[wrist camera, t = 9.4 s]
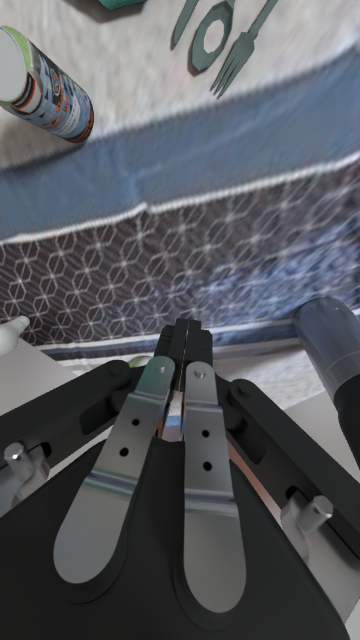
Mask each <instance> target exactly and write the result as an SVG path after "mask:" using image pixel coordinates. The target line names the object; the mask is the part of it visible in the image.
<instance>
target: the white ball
mask: <svg viewBox="0 0 360 640" xmlns="http://www.w3.org/2000/svg"><path fill="white" fill-rule="evenodd" d="M151 358H152V357H143V358H141V359H140V360H139V361H138V362H137V364H136V366H135V367H139V366H143V365H146V364H147V363H148V361H149V360H150V359H151Z"/></svg>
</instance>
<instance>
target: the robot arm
mask: <svg viewBox="0 0 360 640" xmlns="http://www.w3.org/2000/svg"><path fill="white" fill-rule="evenodd" d="M188 320H189V319H182V318H177V319H176V323H175V326H173V325H166V326H165V327H164V328H163V329H162V331H161V334H160V338H159V341H158V344H157V347H156V350H155V353H154V356H153V358H151V359H150V360H149V361H148V363H147V364H146V365H143V366H139V367H130V366H129V364H128V363H127V362H125V361H123V360H112V361H109V362H107V363H105V364H103V365H101V366H99V367H97V368H95V369H93V370H91V371H89V372H87V373H85V374H83V375H81V376H79V377H77V378H75V379H73V380H71V381H69V382H67V383H65V384H63V385H61V386H59V387H57V388H55V389H53V390H51V391H49V392H47V393H45V394H43V395H41V396H39V397H37V398H35V399H33V400H31V401H29V402H27V403H25V404H23V405H21V406H19V407H17V408H15V409H13V410H11V411H9V412H7V413H5V414H3V415H1V416H0V640H350V637H349V635H348V632H347V630H346V628H345V625H344V624H345V622H346V621H347V619H348V617H349V616H350V614H351V612H352V611H353V609H354V607H355V605H356V604H357V602H358V600H359V599H360V484H359V482H358V481H356V480H355V479H354V478H353V477H352V476H351V475H350V474H349V473H348V472H347V471H346V470H345V469H344V468H343V467H342V466H341V465H339V464H338V463H337V462H336V461H335V460H334V459H333V458H332V457H331V456H330V455H329V454H328V453H327V452H326V451H325V450H323V448H321V446H319V445H318V444H317V443H316V442H315V441H314V440H313V439H312V438H311V437H310V436H309V435H308V434H307V433H306V432H305V431H304V430H302V429H301V428H300V427H299V426H298V425H297V424H296V423H295V422H294V421H293V420H292V419H291V418H290V417H289V416H288V415H287V414H286V413H284V411H282V410H281V409H280V408H279V407H278V406H277V405H276V404H275V403H274V402H273V401H272V400H271V399H270V398H269V397H268V396H267V395H266V394H265V393H263V392H262V391H261V390H260V389H259V388H258V387H257V386H256V385H255V384H254V383H252V382H251V381H249V380H246V379H235V380H233V381H232V382H229V381H227V380H224V379H222V378H221V377H219V376H218V375H217V374H216V373H215V372H214V370H213V364H212V335H211V333H210V331H209V330H202V329H201V321H197V320H189V327H188ZM187 328H188V333H187ZM293 328H294V330H295V332H296V334H297V336H298V338H299V340H300V342H301V344H302V346H303V347H304V349H305V351H306V353H307V355H308V357H309V359H310V361H311V363H312V365H313V366H314V368H315V370H316V372H317V374H318V376H319V378H320V380H321V382H322V383H323V385H324V387H325V389H326V391H327V393H328V395H329V396H330V398H331V400H332V402H333V404H334V406H335V407H336V409H337V411H338V419H339V423H340V427H341V429H342V432H343V434H344V436H345V438H346V440H347V442H348V444H349V447H350V449H351V451H352V453H353V456H354V458H355V460H356V462H357V465H358V467H359V470H360V319H359V318H358V317H357V316H356V315H355V314H354V313H353V312H352V311H351V310H350V309H349V308H348V307H347V306H346V305H345V304H344V303H342V302H341V301H340V300H337V299H335V298H318V299H315V300H312V301H310V302H308V303H306V304H305V305H303V306H302V307H301V308H300V309H299V310H298V311H297V313H296V314H295V316H294V319H293ZM186 336H187V340H186ZM185 344H186V346H185ZM184 350H185V353H184ZM183 357H184V359H183ZM182 363H183V367H182ZM181 370H182V375H181ZM180 376H181V383H180V390H179V391H180V392H183V395H182V403H181V418H180V439H179V441H177V442H167V441H165V440H163V439H162V436H163V432H164V428H165V425H166V421H167V417H168V414H169V410H170V406H171V401H172V399H173V395H174V391H178V389H179V382H180ZM113 424H114V426H113V428H112V430H111V432H110V434H109V436H108V438H107V439H105V440H103V441H101V442H99V443H97V444H96V445H94V446H92V447H91V448H90V449H88V450H87V451H86V452H84V453H83V454H82V455H81V456H80V457H78V458H77V459H75V460H74V461H73V462H72V463H70V464H69V465H68V466H66V467H65V468H64V469H63V470H61V471H60V472H59V473H57V474H56V475H55V476H53V477H52V478H51V479H50V480H48V481H47V482H46V480H47V478H48V476H49V472H50V469H51V468H53V467H54V466H55V465H57V464H58V463H60V462H61V461H63V460H64V459H65V458H67V457H68V456H70V455H71V454H73V453H74V452H75V451H77V450H78V449H80V448H81V447H82V446H84V445H85V444H87V443H88V442H89V441H91V440H92V439H94V438H95V437H96V436H98V435H99V434H101V433H102V432H103V431H105V430H106V429H108V428H109V427H110V426H112V425H113ZM226 438H227V439H228V441H229V442H230V443H231V444H232V446H233V447H234V448H235V450H236V451H237V452H238V453H239V455H240V456H241V458H242V459H243V460H244V462H245V463H246V464H247V466H248V467H249V468H250V469H251V471H252V472H253V473H254V475H255V476H256V477H257V479H258V480H259V481H260V483H261V484H262V485H263V487H264V488H265V489H266V491H267V492H268V493H269V495H270V496H271V497H272V498H273V500H274V501H275V502H276V504H277V505H278V506H279V507H280V509H281V514H280V519H281V524H282V527H283V530H284V531H283V530H282V529H281V527H280V526H279V524H278V523H277V521H276V520H275V518H274V517H273V515H272V514H271V512H270V511H269V510H268V508H267V507H266V505H265V504H264V502H263V501H262V499H261V498H260V496H259V495H258V494H257V492H256V491H255V489H254V488H253V486H252V485H251V483H250V482H249V480H248V479H247V478H246V476H245V475H244V473H243V472H242V471H241V470H240V468H239V467H238V466H237V465H236V464H235V463H234V462H233V461H232V460H231V459H229V458H228V450H227V442H226ZM45 482H46V483H45ZM284 532H285V533H284Z"/></svg>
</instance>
